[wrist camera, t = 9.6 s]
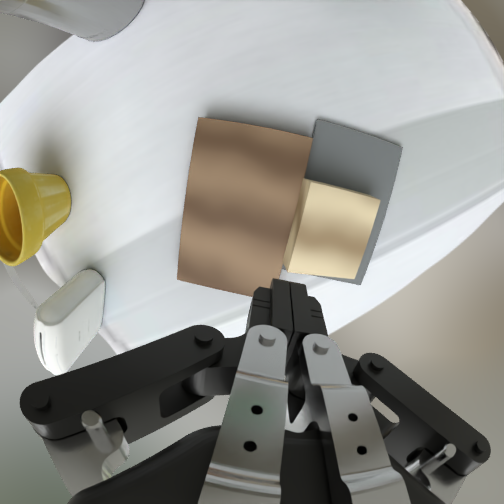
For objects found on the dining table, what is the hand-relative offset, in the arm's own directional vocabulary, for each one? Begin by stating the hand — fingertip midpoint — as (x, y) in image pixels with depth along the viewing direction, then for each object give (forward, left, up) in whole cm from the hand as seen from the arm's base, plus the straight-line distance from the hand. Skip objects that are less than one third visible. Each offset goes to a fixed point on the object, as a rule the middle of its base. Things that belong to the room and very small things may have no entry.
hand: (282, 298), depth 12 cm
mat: (-2, +6, -15) cm, 16 cm away
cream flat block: (0, +5, -14) cm, 14 cm away
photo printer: (+16, -22, -15) cm, 31 cm away
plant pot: (+3, -28, -15) cm, 32 cm away
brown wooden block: (0, -4, -15) cm, 15 cm away
